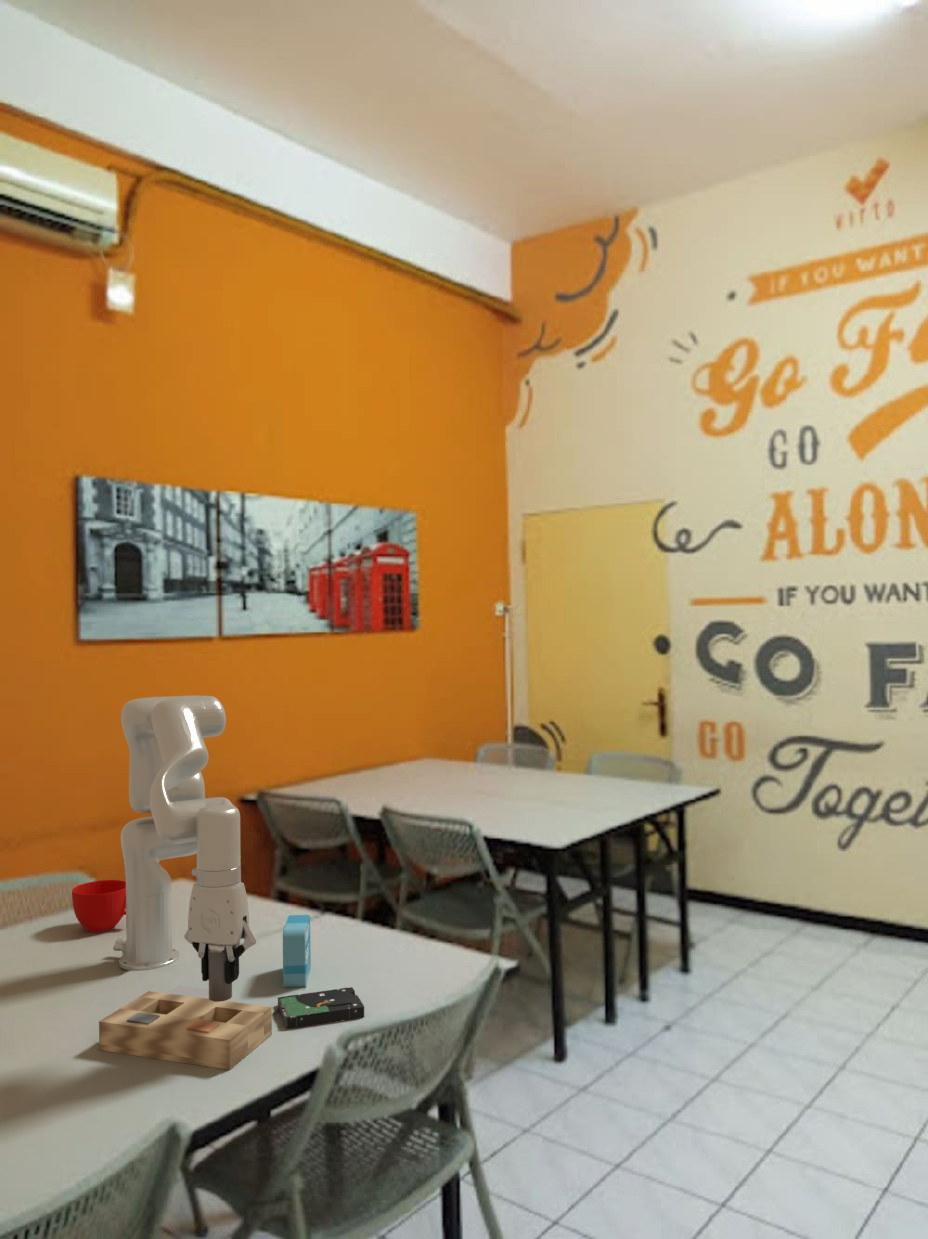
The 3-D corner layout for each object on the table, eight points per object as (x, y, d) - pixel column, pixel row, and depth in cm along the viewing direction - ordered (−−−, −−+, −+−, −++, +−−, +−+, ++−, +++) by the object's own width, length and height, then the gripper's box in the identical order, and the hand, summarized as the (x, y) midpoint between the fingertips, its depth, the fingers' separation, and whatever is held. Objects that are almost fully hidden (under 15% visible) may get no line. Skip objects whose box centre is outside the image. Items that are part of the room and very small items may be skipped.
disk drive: (352, 1000, 189) (276, 1010, 184) (352, 986, 189) (276, 996, 184) (365, 1020, 179) (286, 1032, 174) (365, 1005, 179) (286, 1016, 174)
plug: (204, 1000, 168) (203, 943, 168) (216, 991, 172) (216, 936, 172) (224, 1002, 167) (223, 945, 167) (236, 994, 170) (235, 938, 170)
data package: (305, 990, 193) (305, 930, 193) (283, 991, 192) (282, 931, 192) (310, 968, 205) (310, 912, 205) (289, 969, 204) (288, 913, 204)
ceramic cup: (134, 936, 226) (133, 894, 226) (63, 937, 227) (62, 895, 227) (152, 919, 239) (152, 879, 239) (85, 919, 240) (84, 879, 240)
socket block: (99, 1049, 167) (98, 1019, 167) (149, 1017, 180) (148, 989, 180) (229, 1070, 159) (229, 1038, 159) (271, 1034, 172) (271, 1005, 172)
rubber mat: (148, 1007, 185) (148, 1004, 185) (179, 988, 194) (179, 985, 194) (193, 1013, 182) (193, 1010, 182) (222, 993, 191) (222, 990, 191)
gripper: (165, 878, 168) (167, 982, 168) (249, 885, 163) (251, 993, 163) (190, 867, 175) (191, 967, 175) (271, 874, 170) (273, 977, 170)
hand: (220, 978), depth 169 cm, fingers closed on plug, 4 cm apart
